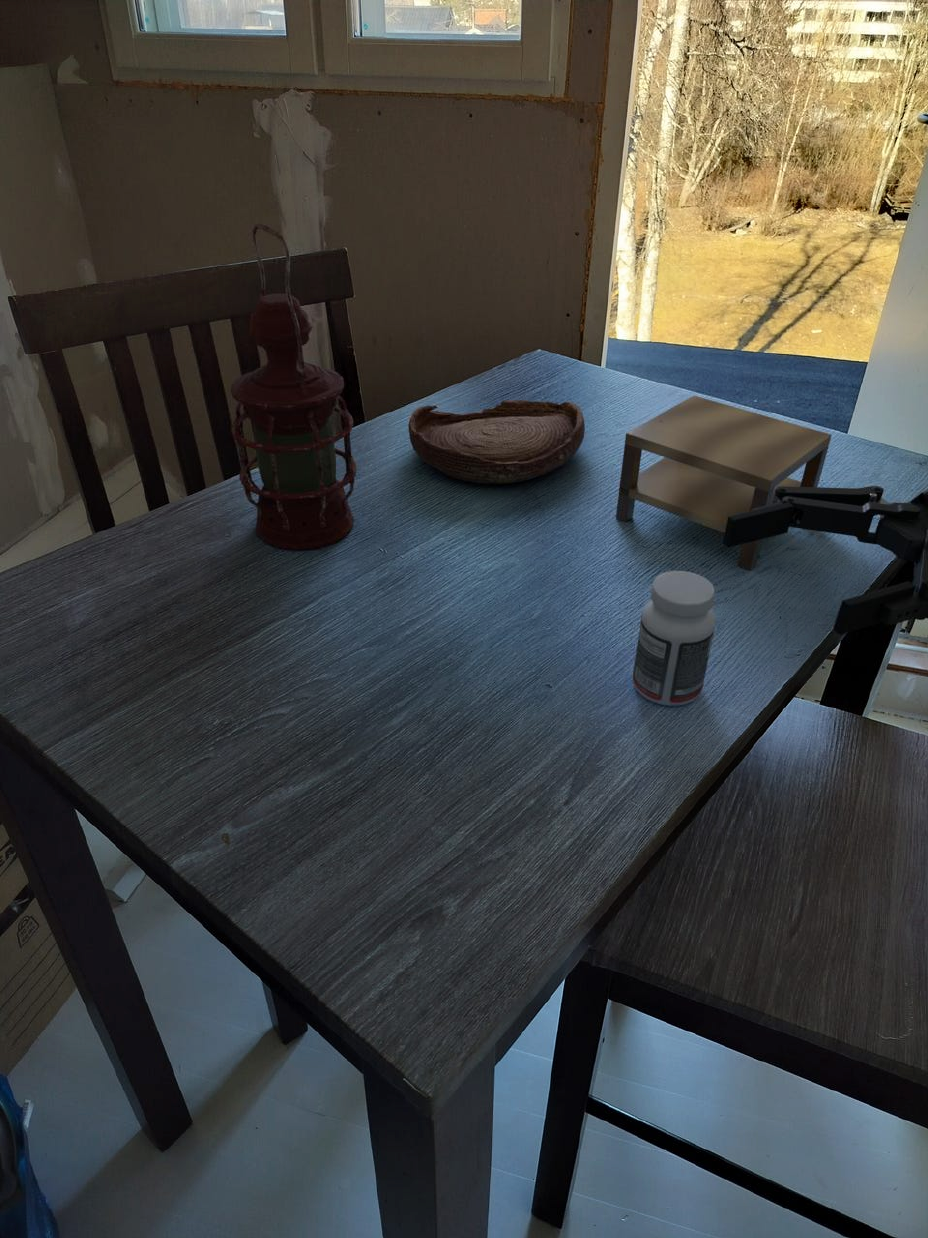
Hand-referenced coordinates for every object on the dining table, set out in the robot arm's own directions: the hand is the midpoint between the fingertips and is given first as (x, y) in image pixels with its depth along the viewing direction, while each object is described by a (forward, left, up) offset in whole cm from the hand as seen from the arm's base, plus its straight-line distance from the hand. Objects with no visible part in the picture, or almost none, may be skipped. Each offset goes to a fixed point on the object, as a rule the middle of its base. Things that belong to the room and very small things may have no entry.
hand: (779, 572), depth 69 cm
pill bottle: (+4, +9, -9) cm, 13 cm away
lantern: (+47, +12, -9) cm, 49 cm away
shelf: (+15, -19, -9) cm, 26 cm away
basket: (+43, -16, -9) cm, 47 cm away
